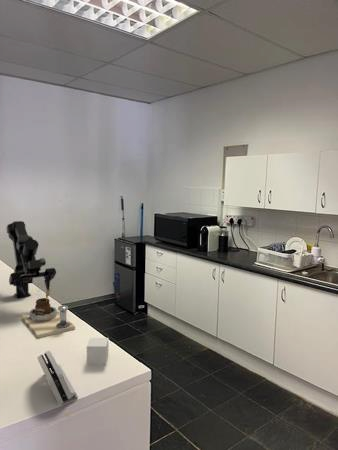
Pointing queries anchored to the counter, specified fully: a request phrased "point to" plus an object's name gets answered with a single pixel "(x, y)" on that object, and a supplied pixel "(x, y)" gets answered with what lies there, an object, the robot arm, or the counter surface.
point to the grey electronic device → (56, 378)
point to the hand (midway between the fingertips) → (37, 292)
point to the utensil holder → (43, 305)
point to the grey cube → (97, 351)
